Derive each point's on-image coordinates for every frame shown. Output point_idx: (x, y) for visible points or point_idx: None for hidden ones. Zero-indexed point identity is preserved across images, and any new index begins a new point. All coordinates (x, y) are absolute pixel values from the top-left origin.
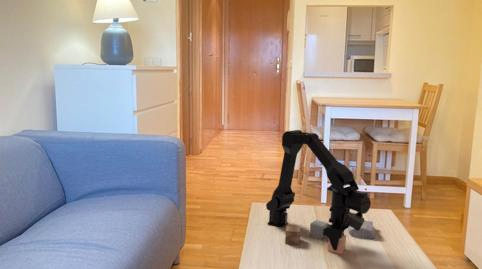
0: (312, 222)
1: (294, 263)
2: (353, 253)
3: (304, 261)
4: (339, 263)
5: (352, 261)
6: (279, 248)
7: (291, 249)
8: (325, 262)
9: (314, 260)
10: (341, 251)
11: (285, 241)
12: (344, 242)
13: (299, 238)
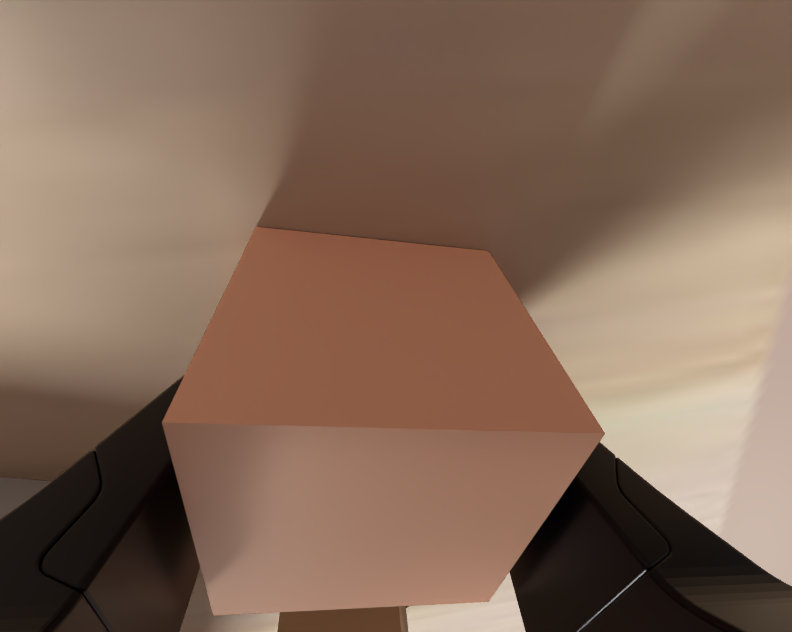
0: None
1: (707, 524)
2: (392, 48)
3: (681, 494)
4: (769, 250)
5: (738, 51)
6: (492, 606)
7: None
8: (718, 379)
9: (668, 452)
10: (498, 282)
11: (407, 625)
12: (360, 326)
13: (349, 616)
